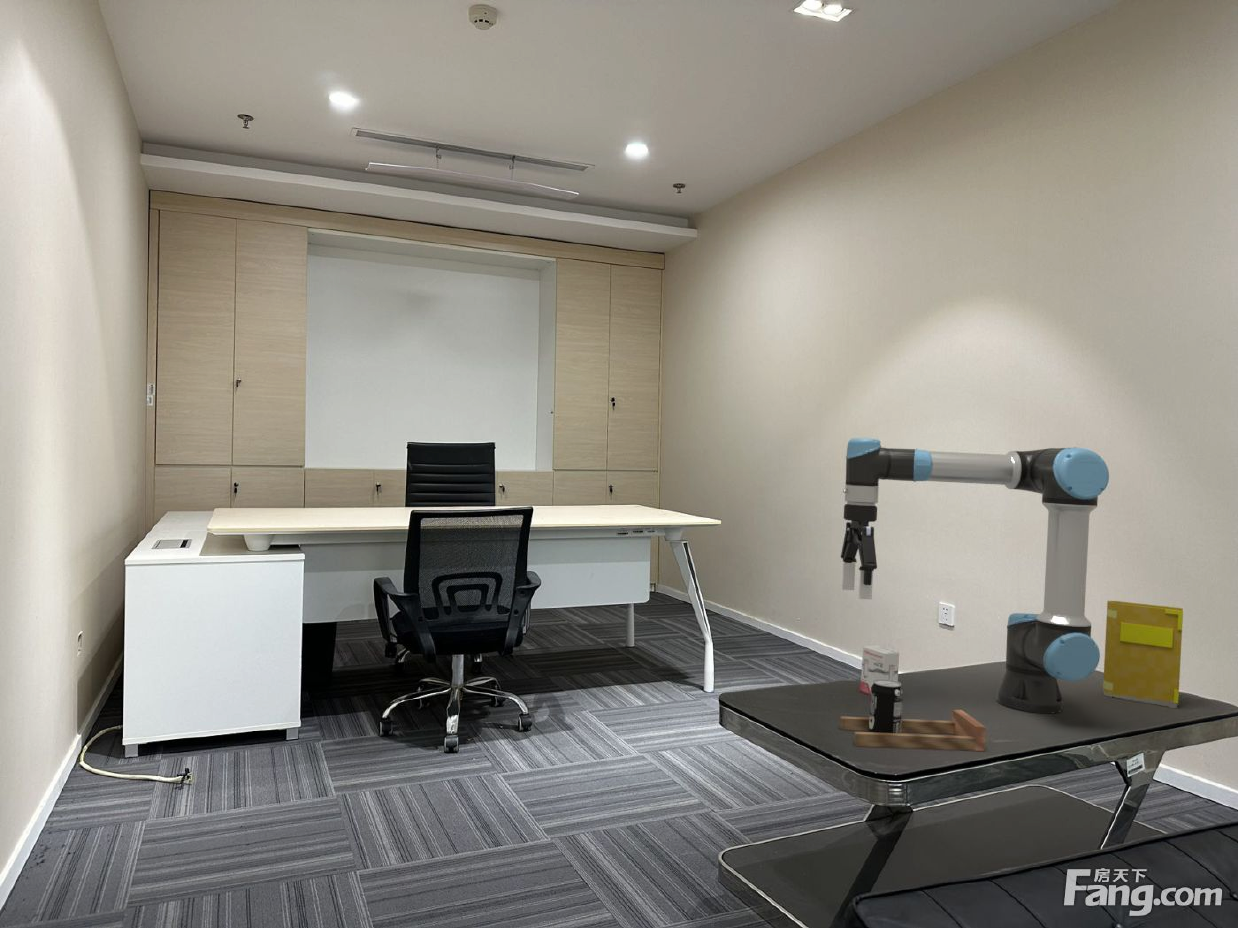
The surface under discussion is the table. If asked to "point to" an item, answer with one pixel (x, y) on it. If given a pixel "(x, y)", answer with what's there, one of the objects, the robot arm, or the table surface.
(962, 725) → the channel
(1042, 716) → the table surface
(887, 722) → the beverage can
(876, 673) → the ink box
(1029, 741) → the table surface
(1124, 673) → the book
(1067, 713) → the table surface
